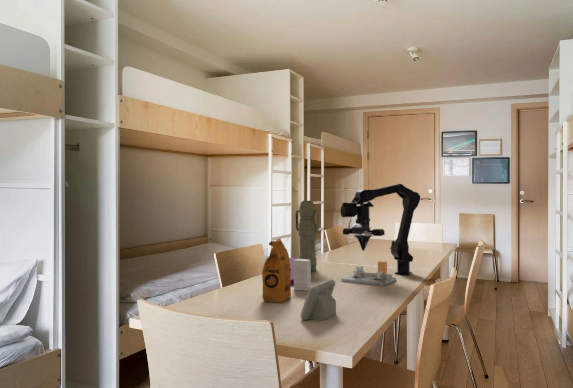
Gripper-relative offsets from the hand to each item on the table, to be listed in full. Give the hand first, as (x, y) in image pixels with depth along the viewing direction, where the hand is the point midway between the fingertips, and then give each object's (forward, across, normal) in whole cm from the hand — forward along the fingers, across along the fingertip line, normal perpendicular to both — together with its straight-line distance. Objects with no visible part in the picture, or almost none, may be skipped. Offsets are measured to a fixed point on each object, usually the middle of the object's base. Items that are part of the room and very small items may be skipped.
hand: (363, 250), depth 208 cm
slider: (+10, +11, -7) cm, 17 cm away
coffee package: (+12, -11, -57) cm, 59 cm away
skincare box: (+12, -11, -38) cm, 41 cm away
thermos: (+12, -31, +2) cm, 33 cm away
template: (+12, +6, -9) cm, 16 cm away
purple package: (+12, -24, -27) cm, 38 cm away
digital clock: (+12, +13, -68) cm, 71 cm away
